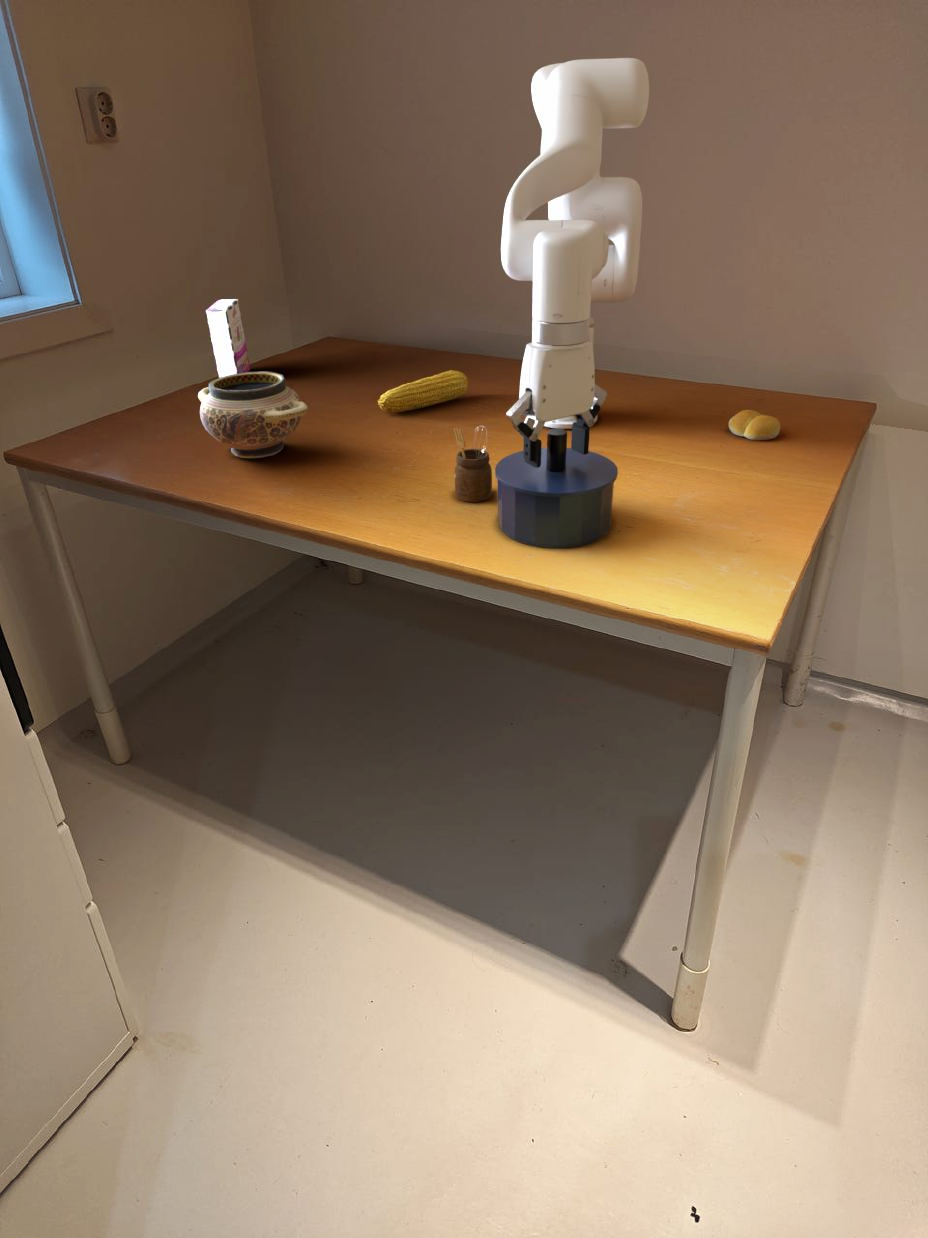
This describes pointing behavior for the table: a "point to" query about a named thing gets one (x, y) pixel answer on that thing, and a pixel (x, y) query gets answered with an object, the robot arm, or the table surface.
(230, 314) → the candy bar box
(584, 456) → the tin lid
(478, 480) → the utensil holder
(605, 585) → the table surface
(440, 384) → the food
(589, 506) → the tin
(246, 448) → the ceramic bowl
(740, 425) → the bread roll
